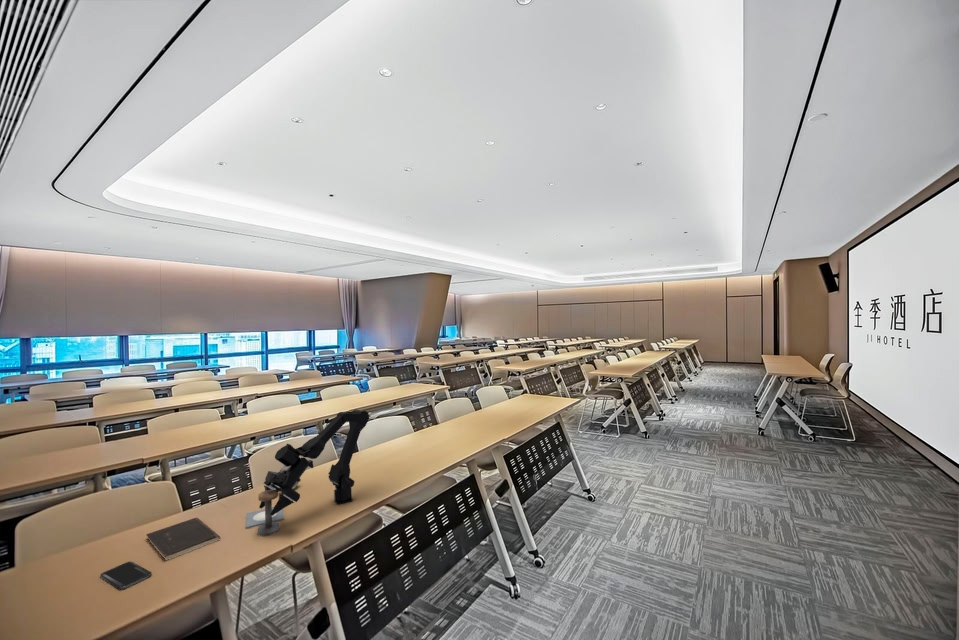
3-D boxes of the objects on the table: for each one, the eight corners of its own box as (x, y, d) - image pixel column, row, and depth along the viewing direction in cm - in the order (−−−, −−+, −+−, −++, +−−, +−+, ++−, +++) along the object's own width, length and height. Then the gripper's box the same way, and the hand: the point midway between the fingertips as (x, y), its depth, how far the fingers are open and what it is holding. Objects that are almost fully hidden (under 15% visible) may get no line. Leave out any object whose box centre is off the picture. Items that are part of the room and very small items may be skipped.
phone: (121, 588, 115) (99, 574, 122) (121, 592, 115) (99, 577, 122) (153, 573, 122) (130, 560, 129) (153, 576, 122) (130, 563, 129)
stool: (279, 524, 152) (278, 487, 152) (280, 532, 146) (279, 494, 146) (257, 529, 149) (257, 492, 149) (257, 538, 143) (257, 499, 143)
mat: (282, 506, 167) (282, 505, 167) (284, 519, 156) (284, 517, 156) (246, 514, 161) (246, 512, 161) (245, 528, 149) (245, 526, 149)
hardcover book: (164, 563, 129) (164, 556, 129) (146, 540, 144) (146, 534, 144) (220, 541, 142) (220, 535, 142) (198, 522, 156) (198, 516, 156)
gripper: (268, 457, 157) (238, 494, 148) (291, 467, 145) (260, 508, 136) (288, 471, 163) (260, 508, 154) (312, 481, 151) (283, 522, 143)
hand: (265, 511), depth 147 cm, fingers open, 9 cm apart
